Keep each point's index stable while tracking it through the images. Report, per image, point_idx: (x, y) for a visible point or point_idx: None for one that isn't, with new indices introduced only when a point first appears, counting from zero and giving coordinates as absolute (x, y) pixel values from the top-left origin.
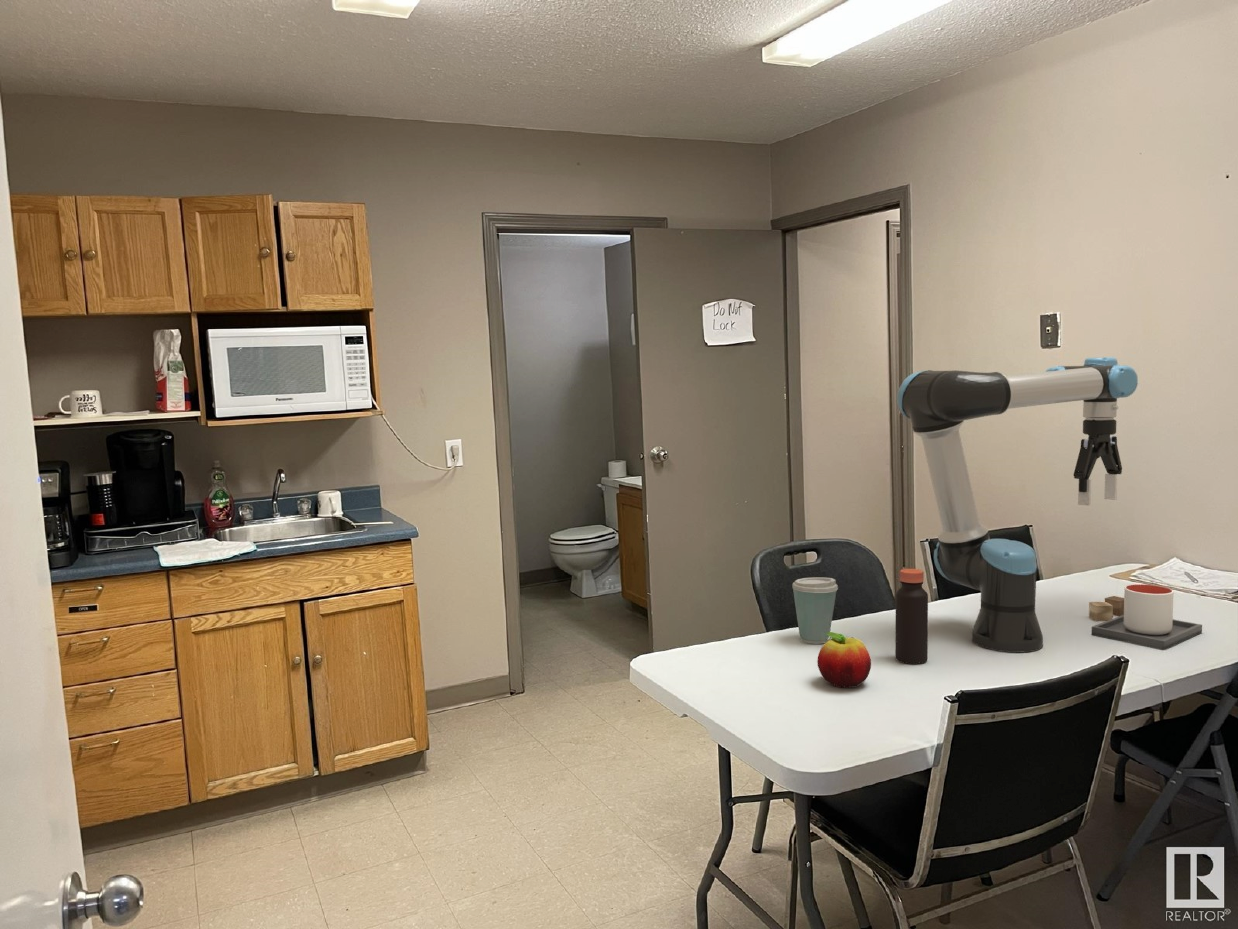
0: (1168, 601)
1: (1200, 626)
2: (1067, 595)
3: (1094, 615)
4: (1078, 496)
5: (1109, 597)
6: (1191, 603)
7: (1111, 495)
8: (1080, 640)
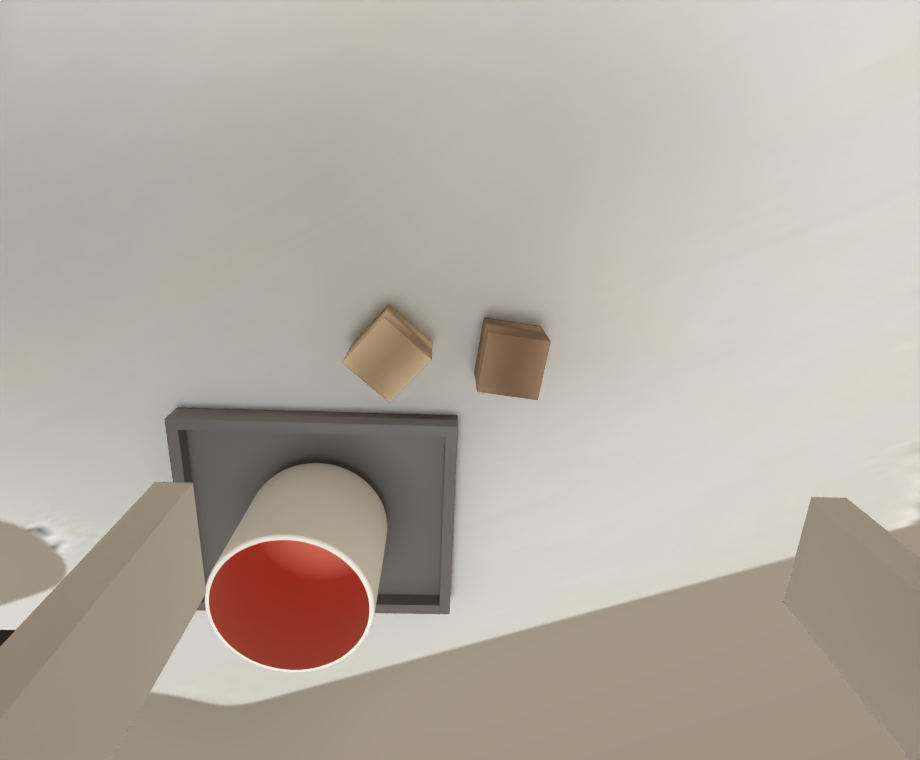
0: (282, 648)
1: (437, 611)
2: (676, 79)
3: (356, 341)
4: (97, 545)
5: (510, 341)
6: (811, 463)
7: (824, 599)
8: (92, 410)
